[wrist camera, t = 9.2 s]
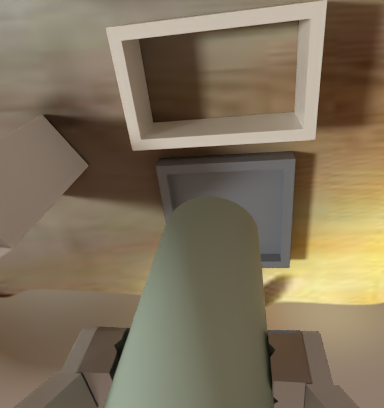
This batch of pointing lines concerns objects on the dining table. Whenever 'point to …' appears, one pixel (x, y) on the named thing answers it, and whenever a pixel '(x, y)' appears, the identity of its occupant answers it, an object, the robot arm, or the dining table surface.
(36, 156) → the milk carton
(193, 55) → the dining table surface
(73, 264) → the dining table surface
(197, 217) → the dowel pin
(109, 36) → the white open box
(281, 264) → the tray
